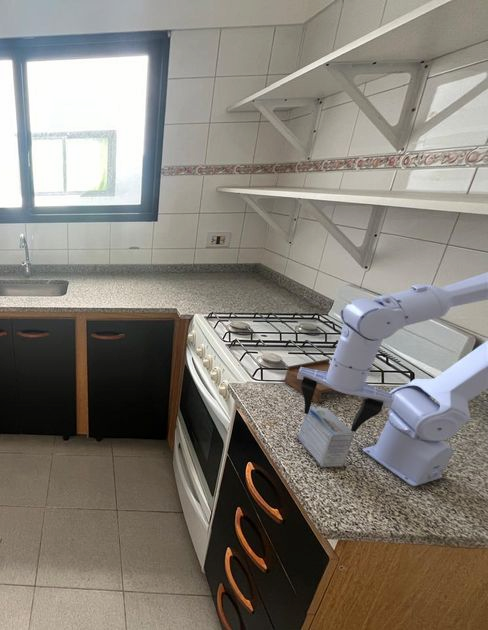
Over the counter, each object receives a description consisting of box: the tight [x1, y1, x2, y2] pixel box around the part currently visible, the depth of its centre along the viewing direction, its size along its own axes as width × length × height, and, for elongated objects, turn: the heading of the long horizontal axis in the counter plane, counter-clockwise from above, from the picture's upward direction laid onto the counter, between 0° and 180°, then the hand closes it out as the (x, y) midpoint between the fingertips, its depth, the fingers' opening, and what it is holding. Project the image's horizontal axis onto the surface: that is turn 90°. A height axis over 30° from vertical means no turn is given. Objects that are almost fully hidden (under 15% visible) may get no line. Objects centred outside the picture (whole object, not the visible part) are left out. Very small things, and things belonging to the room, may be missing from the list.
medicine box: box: [298, 407, 355, 468], centre depth 71 cm, size 8×4×9 cm, turn 179°
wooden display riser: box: [283, 358, 335, 404], centre depth 93 cm, size 10×14×5 cm
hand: (329, 419), depth 70 cm, fingers open, 7 cm apart
